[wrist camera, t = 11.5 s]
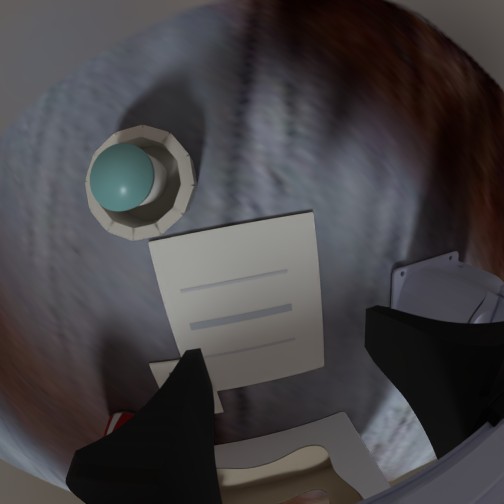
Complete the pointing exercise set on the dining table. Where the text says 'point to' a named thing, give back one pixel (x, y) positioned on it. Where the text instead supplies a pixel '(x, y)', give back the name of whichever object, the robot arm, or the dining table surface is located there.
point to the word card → (164, 370)
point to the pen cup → (168, 205)
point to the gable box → (299, 465)
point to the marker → (127, 178)
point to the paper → (245, 298)
